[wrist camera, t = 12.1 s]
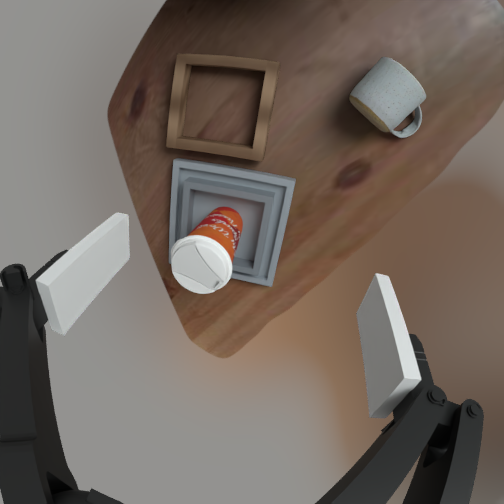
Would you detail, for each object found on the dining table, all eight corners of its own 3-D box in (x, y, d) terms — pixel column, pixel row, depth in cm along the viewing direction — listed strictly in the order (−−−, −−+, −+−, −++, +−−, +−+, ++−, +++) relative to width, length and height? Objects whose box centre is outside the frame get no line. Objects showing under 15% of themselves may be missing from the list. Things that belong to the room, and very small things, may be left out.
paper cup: (260, 222, 46) (243, 271, 33) (229, 254, 49) (205, 307, 37) (220, 188, 44) (188, 226, 32) (192, 223, 48) (155, 268, 35)
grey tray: (177, 158, 43) (169, 162, 41) (295, 178, 42) (295, 184, 40) (172, 258, 52) (165, 267, 49) (272, 281, 51) (270, 291, 48)
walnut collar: (183, 55, 36) (177, 53, 33) (280, 64, 35) (279, 62, 33) (172, 144, 42) (165, 147, 40) (263, 158, 42) (261, 161, 39)
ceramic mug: (340, 98, 36) (350, 97, 29) (376, 59, 32) (392, 51, 25) (395, 149, 38) (413, 159, 31) (428, 111, 34) (452, 115, 27)
